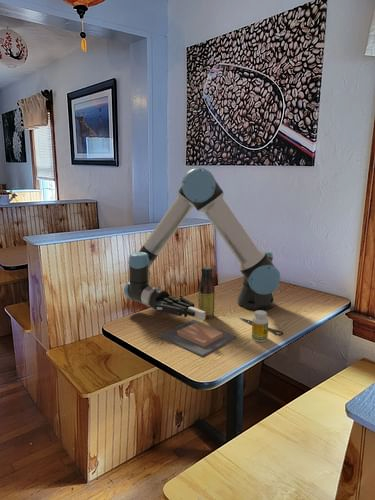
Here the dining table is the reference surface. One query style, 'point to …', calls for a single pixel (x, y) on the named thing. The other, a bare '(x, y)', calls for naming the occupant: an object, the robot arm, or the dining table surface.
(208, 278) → the sauce bottle
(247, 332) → the dining table surface
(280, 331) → the throwing knife
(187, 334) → the terracotta tile
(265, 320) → the supplement bottle
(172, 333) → the rubber mat
